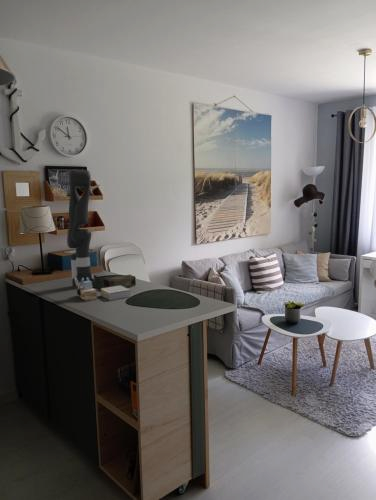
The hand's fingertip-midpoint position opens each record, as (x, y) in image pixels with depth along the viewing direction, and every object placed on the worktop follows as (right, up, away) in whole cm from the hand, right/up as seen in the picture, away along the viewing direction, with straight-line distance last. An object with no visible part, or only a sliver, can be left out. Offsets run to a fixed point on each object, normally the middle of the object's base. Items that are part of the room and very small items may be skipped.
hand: (85, 294), depth 226 cm
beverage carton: (+16, +2, +22) cm, 27 cm away
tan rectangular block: (+1, -1, -2) cm, 3 cm away
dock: (+17, -1, 0) cm, 17 cm away
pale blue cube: (+2, +4, -3) cm, 5 cm away
